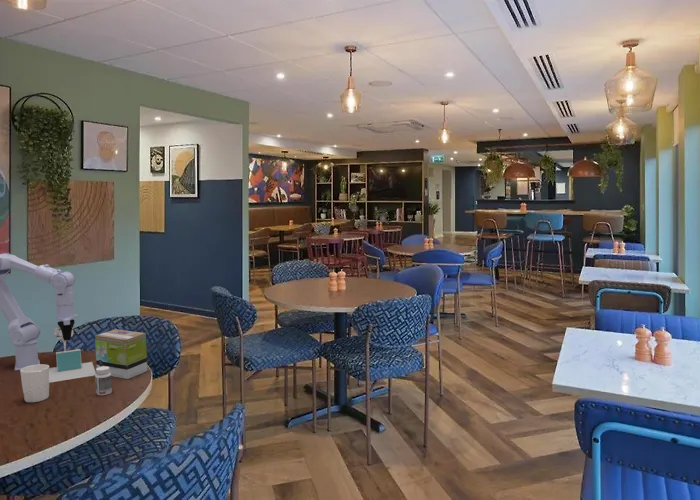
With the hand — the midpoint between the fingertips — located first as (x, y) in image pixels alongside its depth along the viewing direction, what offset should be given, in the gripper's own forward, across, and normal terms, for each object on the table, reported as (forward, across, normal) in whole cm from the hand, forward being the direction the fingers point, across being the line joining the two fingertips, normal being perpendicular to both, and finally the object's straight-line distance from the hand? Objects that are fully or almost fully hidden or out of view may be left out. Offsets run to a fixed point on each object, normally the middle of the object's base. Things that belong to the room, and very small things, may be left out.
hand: (67, 339), depth 200 cm
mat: (+10, -8, 0) cm, 13 cm away
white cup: (+10, -32, +10) cm, 35 cm away
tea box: (+11, -19, -16) cm, 27 cm away
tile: (+10, -6, 0) cm, 11 cm away
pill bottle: (+10, -38, -8) cm, 40 cm away
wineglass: (+10, +14, 0) cm, 18 cm away
